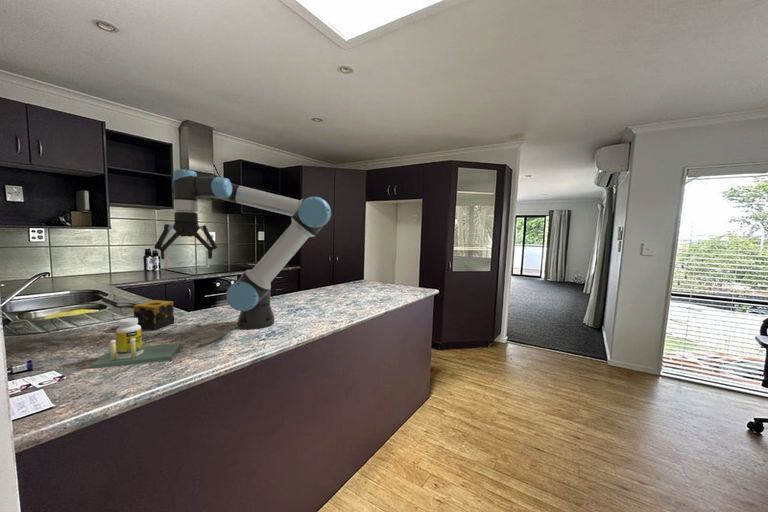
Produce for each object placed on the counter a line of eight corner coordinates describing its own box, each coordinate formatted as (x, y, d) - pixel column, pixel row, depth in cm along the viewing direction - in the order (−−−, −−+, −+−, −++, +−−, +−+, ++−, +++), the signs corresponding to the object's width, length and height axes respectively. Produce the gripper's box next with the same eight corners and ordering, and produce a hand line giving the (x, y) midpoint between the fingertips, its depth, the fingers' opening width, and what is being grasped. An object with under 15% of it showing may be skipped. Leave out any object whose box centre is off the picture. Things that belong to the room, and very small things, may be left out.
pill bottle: (127, 357, 95) (126, 323, 95) (112, 355, 97) (110, 321, 96) (147, 350, 101) (145, 317, 101) (132, 348, 103) (130, 316, 102)
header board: (181, 346, 109) (181, 325, 109) (171, 359, 98) (171, 337, 97) (111, 352, 102) (110, 331, 102) (92, 368, 91) (91, 344, 90)
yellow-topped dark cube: (154, 322, 135) (154, 299, 135) (175, 323, 134) (174, 301, 133) (133, 329, 125) (132, 305, 125) (154, 331, 124) (154, 307, 123)
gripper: (224, 213, 124) (225, 265, 126) (150, 210, 115) (152, 266, 117) (221, 213, 117) (222, 268, 119) (142, 209, 108) (144, 269, 110)
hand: (187, 267), depth 118 cm, fingers open, 13 cm apart
